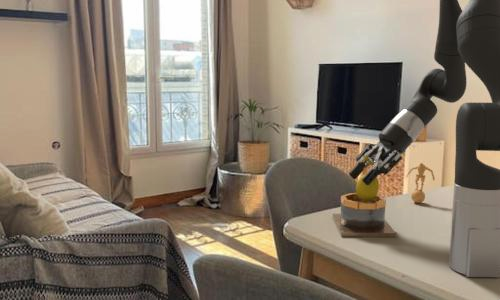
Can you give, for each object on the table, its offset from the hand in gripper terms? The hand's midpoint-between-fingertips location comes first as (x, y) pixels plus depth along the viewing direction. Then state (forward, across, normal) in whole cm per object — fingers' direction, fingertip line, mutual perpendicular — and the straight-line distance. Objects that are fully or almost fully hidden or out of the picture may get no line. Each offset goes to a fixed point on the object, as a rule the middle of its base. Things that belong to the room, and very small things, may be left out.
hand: (358, 179), depth 124 cm
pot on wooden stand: (+8, 0, +10) cm, 12 cm away
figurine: (-12, -18, +30) cm, 37 cm away
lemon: (+3, 0, +6) cm, 7 cm away
